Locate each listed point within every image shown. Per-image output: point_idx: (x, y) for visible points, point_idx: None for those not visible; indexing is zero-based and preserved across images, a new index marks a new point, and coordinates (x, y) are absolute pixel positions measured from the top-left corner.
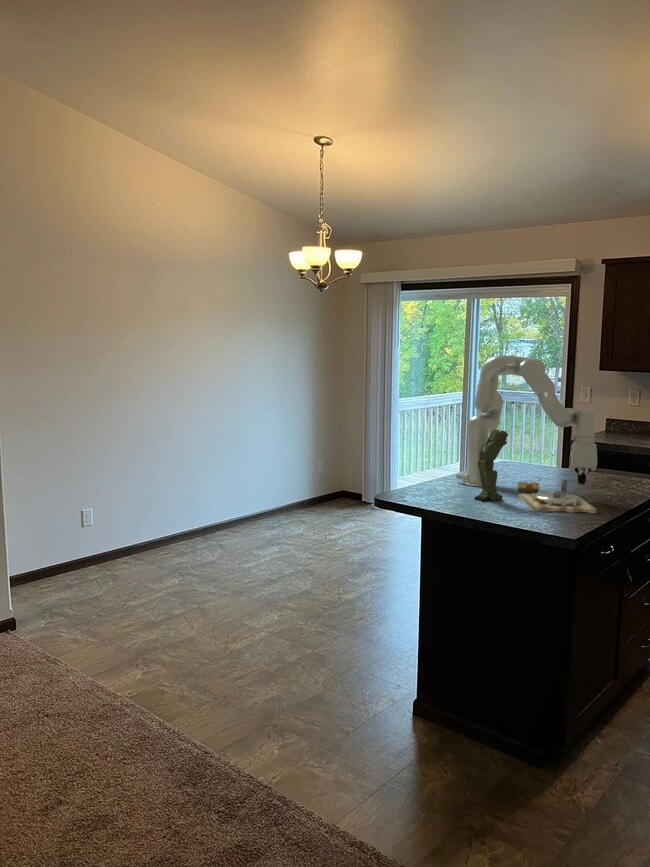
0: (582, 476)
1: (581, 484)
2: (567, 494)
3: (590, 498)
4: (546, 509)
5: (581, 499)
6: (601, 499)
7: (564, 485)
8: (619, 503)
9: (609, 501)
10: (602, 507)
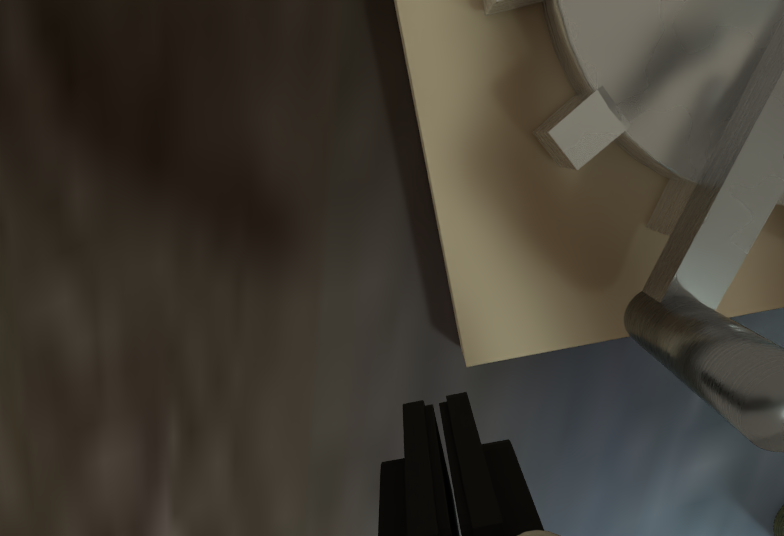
0: (468, 501)
1: (453, 396)
2: (649, 145)
3: (322, 425)
4: None
5: (443, 170)
6: (223, 417)
7: (725, 324)
8: (52, 301)
9: (149, 358)
10: (216, 12)
